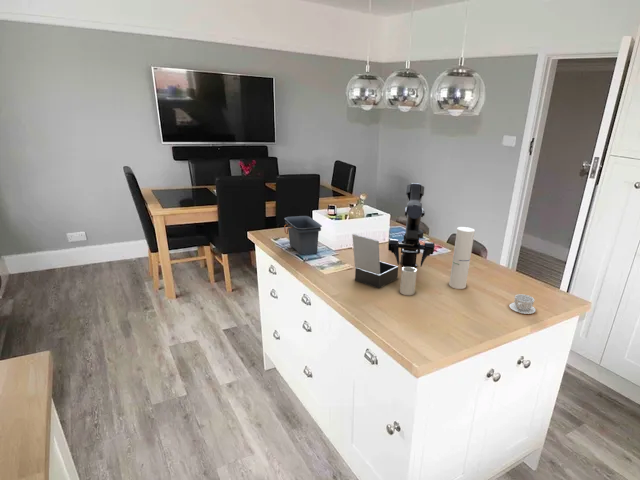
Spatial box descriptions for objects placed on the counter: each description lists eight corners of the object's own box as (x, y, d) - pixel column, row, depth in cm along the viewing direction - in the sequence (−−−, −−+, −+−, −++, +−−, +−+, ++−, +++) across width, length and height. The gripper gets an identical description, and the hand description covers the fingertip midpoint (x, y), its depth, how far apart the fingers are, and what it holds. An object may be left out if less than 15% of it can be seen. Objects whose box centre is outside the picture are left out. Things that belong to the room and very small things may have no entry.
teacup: (515, 301, 169) (517, 290, 167) (539, 309, 164) (541, 298, 162) (504, 308, 162) (507, 297, 160) (529, 317, 156) (532, 306, 154)
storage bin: (324, 254, 205) (324, 226, 199) (294, 258, 197) (293, 228, 191) (308, 242, 221) (307, 215, 215) (279, 245, 213) (278, 217, 207)
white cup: (411, 288, 173) (413, 266, 169) (416, 294, 168) (419, 271, 164) (397, 289, 171) (399, 267, 167) (402, 295, 166) (404, 272, 162)
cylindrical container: (465, 289, 176) (474, 232, 166) (448, 287, 178) (456, 230, 167) (466, 283, 183) (475, 228, 172) (449, 281, 184) (457, 226, 173)
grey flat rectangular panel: (353, 233, 167) (352, 234, 166) (378, 240, 161) (377, 241, 160) (356, 266, 175) (354, 267, 174) (380, 274, 169) (379, 274, 169)
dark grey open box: (374, 271, 188) (375, 259, 186) (397, 278, 183) (398, 266, 180) (354, 280, 177) (355, 267, 175) (378, 288, 171) (379, 275, 169)
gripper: (390, 219, 167) (386, 254, 161) (436, 223, 166) (434, 258, 161) (390, 233, 177) (386, 266, 172) (433, 237, 177) (431, 270, 171)
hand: (409, 265), depth 169 cm, fingers open, 9 cm apart
